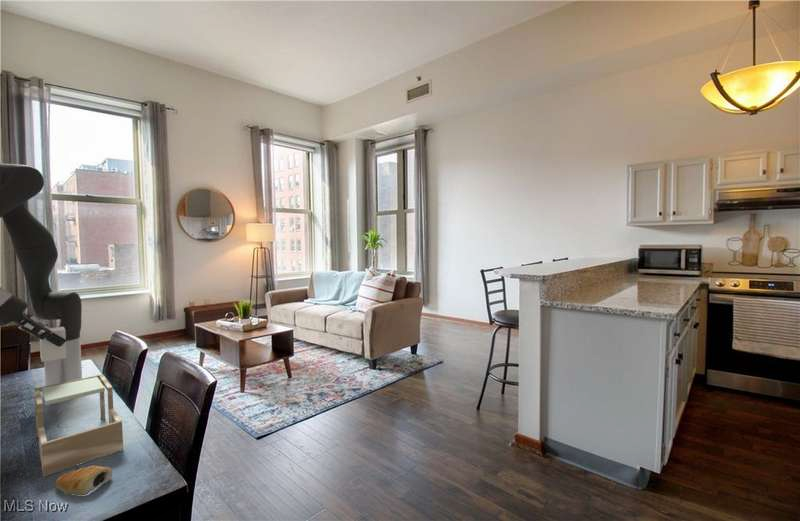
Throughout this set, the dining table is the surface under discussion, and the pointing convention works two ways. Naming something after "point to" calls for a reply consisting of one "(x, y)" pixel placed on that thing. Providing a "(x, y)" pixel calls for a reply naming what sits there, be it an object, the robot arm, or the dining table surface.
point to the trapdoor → (72, 390)
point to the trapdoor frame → (79, 436)
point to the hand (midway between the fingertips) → (61, 341)
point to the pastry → (83, 480)
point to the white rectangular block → (53, 346)
